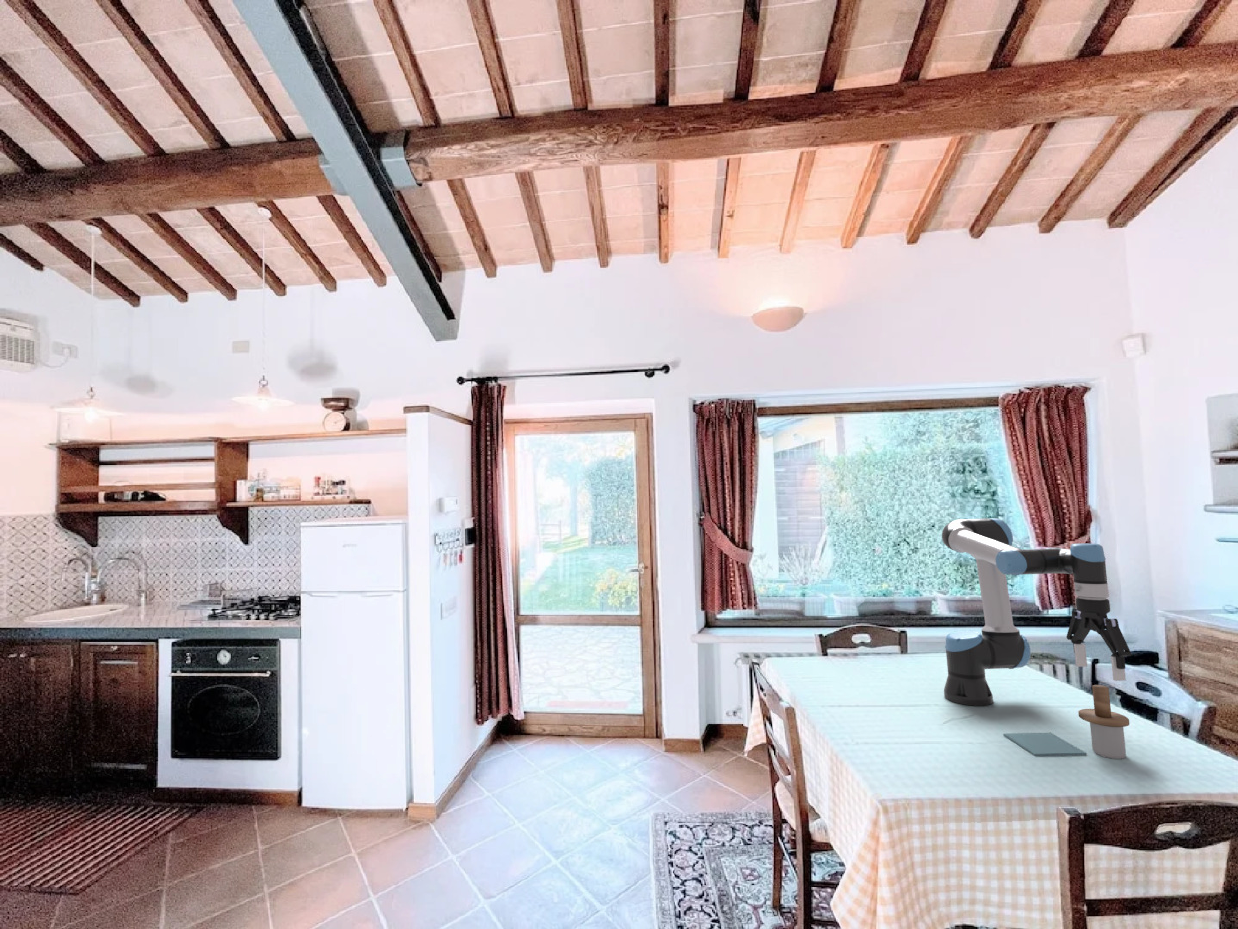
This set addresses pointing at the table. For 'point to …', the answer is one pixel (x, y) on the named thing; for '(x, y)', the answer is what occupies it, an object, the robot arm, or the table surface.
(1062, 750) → the mat
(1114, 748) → the cup
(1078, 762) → the table surface
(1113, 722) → the lid
